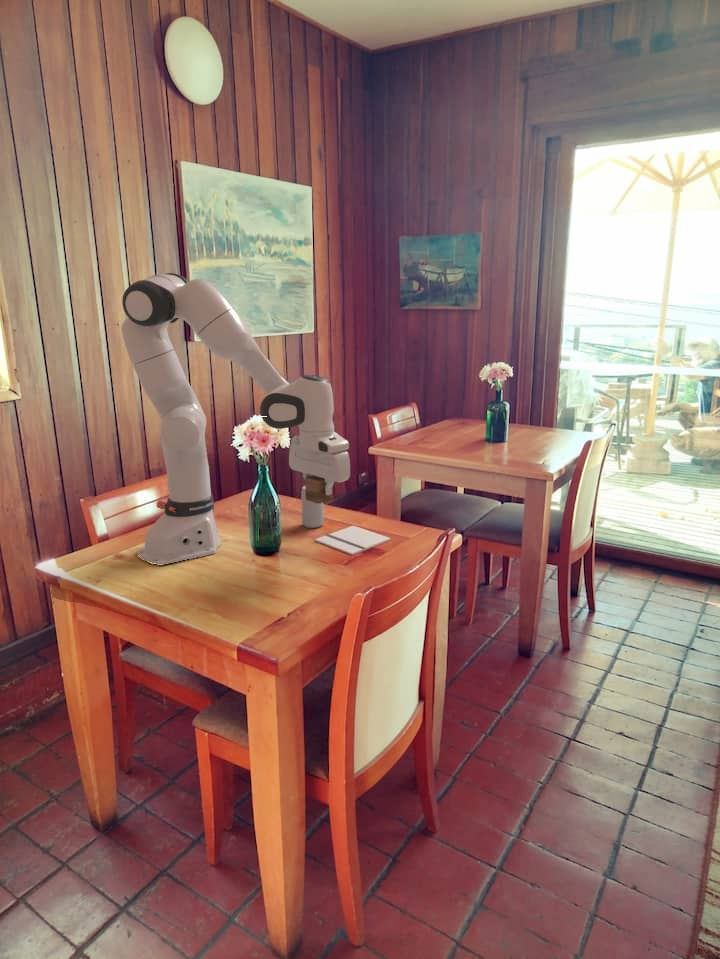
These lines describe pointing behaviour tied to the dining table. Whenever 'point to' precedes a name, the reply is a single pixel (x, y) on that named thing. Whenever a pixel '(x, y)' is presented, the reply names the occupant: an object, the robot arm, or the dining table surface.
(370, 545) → the board
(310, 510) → the beverage can
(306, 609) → the dining table surface
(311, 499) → the walnut block
